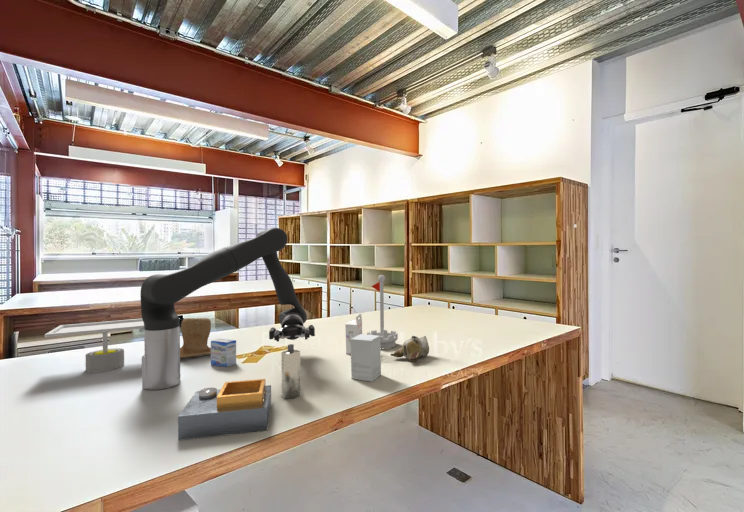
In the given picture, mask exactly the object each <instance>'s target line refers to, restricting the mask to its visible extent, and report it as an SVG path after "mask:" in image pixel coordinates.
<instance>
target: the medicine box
mask: <svg viewBox="0 0 744 512" xmlns="http://www.w3.org/2000/svg"><path fill="white" fill-rule="evenodd" d="M210 348H211V354H210V366H216V367H217V366H218V367H223V368H224V367H225V368H229V367H231V366H234V365H236V364H237V340H236V339H235V340H234V339H229V338H227V339H226V338H215V339H211V341H210Z"/></svg>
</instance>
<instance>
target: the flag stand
mask: <svg viewBox="0 0 744 512" xmlns="http://www.w3.org/2000/svg"><path fill="white" fill-rule="evenodd" d="M377 279H378V282H376V283H375V284H373V285H371V287H372V288H373V289H375V290H376V291H378V292H379V305H380V306H379V320H380V321H379V323H380V324H379V325H380V326H379V327H380V328H379V331H380V332H378V330H376V329H375V330H371V331H368V332H366V335H377V336H380V348H390V349H392V348H391V347H393V348H395V347H396V342H397V341H398V336H399V335H398V332H397V331H395V330H390V332H388V329H385V326H384V325H385V320H384V319H385V317H384V316H385V312H384V311H385V306H384V305H385V304H384V291H385V290H384V281H385V280H386V277H385V275H383V274H380V275H378V277H377ZM394 346H395V347H394Z"/></svg>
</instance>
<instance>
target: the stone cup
mask: <svg viewBox="0 0 744 512" xmlns="http://www.w3.org/2000/svg"><path fill="white" fill-rule="evenodd" d="M211 330H212V321H211V319H210V318H208V317H200V318H199V317H198V318H195V317H194V318H193V317H191V318H190V317H185V318H183V319H182V321H181V323H180V332H181V337H182V341H183V343H182V346H180V360H184V359H191V358H197V357H203V356H208V355H211V346H208V339H209V337H210V334H211Z"/></svg>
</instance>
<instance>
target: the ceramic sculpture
mask: <svg viewBox="0 0 744 512" xmlns="http://www.w3.org/2000/svg"><path fill="white" fill-rule="evenodd" d="M429 353H430V345H429V342H428V338H427V336H426V335H424V336H422V337H418V336H415V335H412V336H411V337H410V338H409V339H406V340H405V341H404V342H403V343H402V347H399V348H398V349H396V350H395V351H394V352H393V353H390V356H391V357H394V358H403V357H405V359H408V361H410V362H416V361H418V360H419V358H420V357H427V356H428V355H429Z"/></svg>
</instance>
